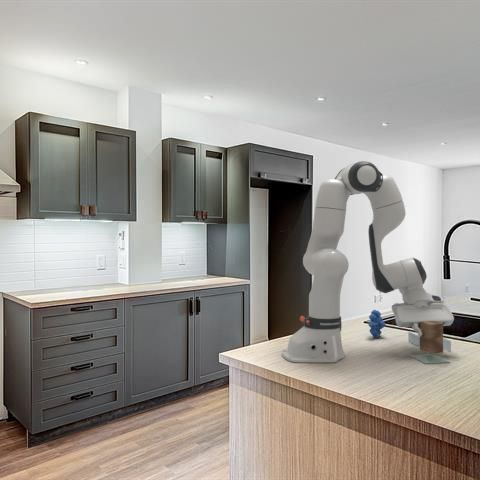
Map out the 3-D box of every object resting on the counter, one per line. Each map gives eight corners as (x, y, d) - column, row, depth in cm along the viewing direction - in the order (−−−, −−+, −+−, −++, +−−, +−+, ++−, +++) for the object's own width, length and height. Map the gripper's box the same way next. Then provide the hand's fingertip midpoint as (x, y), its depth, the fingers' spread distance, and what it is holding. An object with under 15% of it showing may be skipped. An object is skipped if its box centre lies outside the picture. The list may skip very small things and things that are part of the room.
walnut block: (429, 353, 147) (429, 324, 147) (419, 349, 153) (419, 320, 153) (443, 352, 148) (442, 323, 148) (432, 348, 154) (432, 320, 154)
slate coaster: (425, 364, 146) (425, 363, 146) (410, 356, 155) (410, 355, 155) (449, 362, 147) (449, 361, 147) (433, 355, 156) (433, 354, 156)
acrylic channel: (432, 352, 160) (432, 341, 160) (408, 341, 176) (408, 331, 176) (451, 351, 161) (451, 340, 161) (425, 340, 177) (425, 330, 177)
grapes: (381, 342, 176) (381, 312, 175) (364, 339, 180) (364, 310, 179) (390, 336, 185) (390, 308, 185) (374, 334, 189) (374, 306, 189)
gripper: (392, 298, 157) (405, 331, 147) (447, 297, 158) (462, 329, 149) (387, 308, 161) (399, 341, 152) (440, 307, 163) (455, 339, 153)
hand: (431, 335), depth 150 cm, fingers closed on walnut block, 5 cm apart
